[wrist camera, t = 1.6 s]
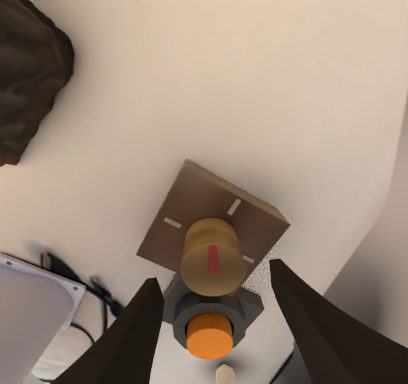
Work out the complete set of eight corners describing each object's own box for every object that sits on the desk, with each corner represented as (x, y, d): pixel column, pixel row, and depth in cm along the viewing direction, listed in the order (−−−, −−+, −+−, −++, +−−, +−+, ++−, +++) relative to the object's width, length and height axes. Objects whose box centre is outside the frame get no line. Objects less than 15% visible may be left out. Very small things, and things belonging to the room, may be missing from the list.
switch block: (156, 305, 23) (148, 335, 19) (185, 261, 21) (181, 287, 17) (228, 332, 24) (232, 365, 21) (261, 295, 22) (271, 325, 19)
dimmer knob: (235, 261, 17) (245, 300, 13) (186, 262, 17) (181, 300, 13) (238, 217, 15) (249, 246, 12) (183, 217, 15) (177, 247, 12)
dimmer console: (145, 235, 20) (135, 256, 17) (186, 159, 17) (182, 166, 14) (228, 273, 21) (232, 298, 18) (277, 209, 19) (291, 225, 16)
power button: (180, 332, 20) (178, 351, 18) (201, 304, 19) (200, 322, 17) (216, 345, 21) (218, 365, 19) (238, 320, 19) (242, 338, 18)
